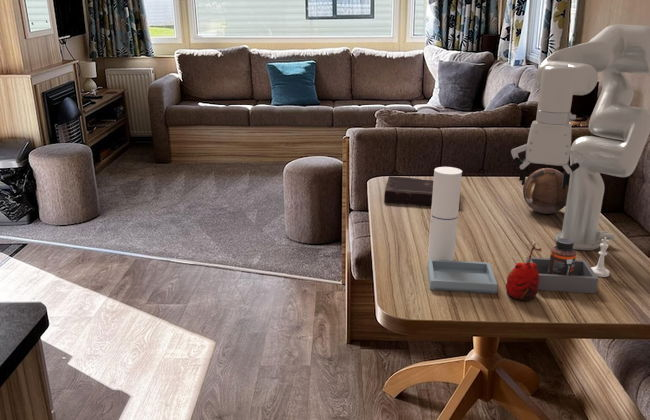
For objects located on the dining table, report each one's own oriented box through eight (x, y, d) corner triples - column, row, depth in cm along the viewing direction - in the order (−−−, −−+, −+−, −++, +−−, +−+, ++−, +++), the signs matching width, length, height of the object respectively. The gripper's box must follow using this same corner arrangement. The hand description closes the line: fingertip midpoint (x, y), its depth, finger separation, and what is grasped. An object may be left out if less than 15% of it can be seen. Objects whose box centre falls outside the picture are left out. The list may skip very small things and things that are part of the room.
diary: (457, 209, 214) (459, 195, 212) (383, 204, 218) (384, 190, 216) (456, 193, 231) (457, 179, 229) (388, 188, 235) (388, 175, 233)
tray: (488, 271, 166) (489, 262, 166) (496, 293, 154) (497, 284, 153) (427, 267, 168) (428, 259, 167) (430, 289, 156) (430, 280, 155)
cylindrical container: (438, 265, 170) (445, 175, 161) (422, 255, 176) (428, 168, 167) (459, 260, 173) (467, 172, 164) (443, 251, 179) (450, 165, 170)
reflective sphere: (557, 205, 218) (563, 163, 213) (575, 220, 204) (582, 175, 199) (514, 204, 218) (519, 162, 213) (529, 220, 204) (535, 175, 199)
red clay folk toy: (530, 289, 157) (538, 233, 152) (542, 302, 150) (551, 244, 145) (500, 290, 156) (507, 234, 151) (512, 304, 150) (519, 245, 144)
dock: (583, 274, 166) (585, 260, 164) (595, 293, 155) (598, 278, 154) (524, 270, 167) (526, 257, 166) (533, 289, 157) (535, 275, 155)
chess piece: (607, 278, 164) (614, 242, 160) (587, 274, 166) (593, 238, 163) (610, 271, 167) (617, 236, 164) (591, 267, 170) (597, 232, 167)
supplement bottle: (573, 288, 158) (580, 246, 154) (548, 285, 159) (554, 244, 155) (569, 278, 163) (575, 237, 160) (545, 275, 165) (551, 235, 161)
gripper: (590, 118, 153) (579, 185, 159) (516, 112, 158) (508, 178, 164) (592, 123, 147) (580, 194, 152) (514, 117, 152) (506, 186, 157)
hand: (543, 185), depth 158 cm, fingers open, 9 cm apart
